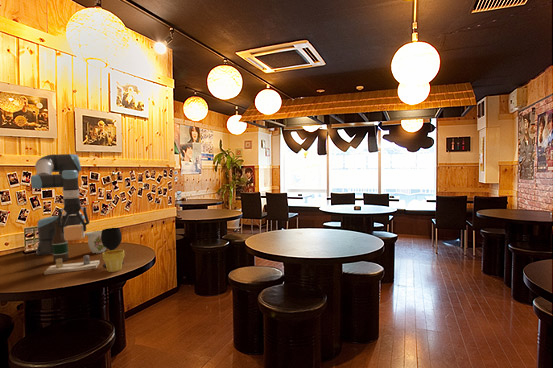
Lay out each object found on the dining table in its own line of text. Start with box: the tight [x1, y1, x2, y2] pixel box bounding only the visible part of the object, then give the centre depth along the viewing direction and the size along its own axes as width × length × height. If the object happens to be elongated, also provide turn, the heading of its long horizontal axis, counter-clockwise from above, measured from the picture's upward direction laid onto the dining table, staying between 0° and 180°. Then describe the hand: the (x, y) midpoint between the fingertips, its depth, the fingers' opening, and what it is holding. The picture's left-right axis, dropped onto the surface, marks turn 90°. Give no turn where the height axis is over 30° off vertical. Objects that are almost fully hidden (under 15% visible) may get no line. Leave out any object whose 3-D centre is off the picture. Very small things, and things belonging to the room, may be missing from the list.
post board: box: [43, 254, 101, 276], centre depth 184 cm, size 12×24×6 cm, turn 109°
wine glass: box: [101, 227, 124, 268], centre depth 188 cm, size 10×10×20 cm
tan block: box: [64, 224, 83, 242], centre depth 190 cm, size 8×8×7 cm
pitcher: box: [84, 230, 107, 254], centre depth 219 cm, size 11×18×14 cm, turn 137°
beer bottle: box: [52, 221, 70, 263], centre depth 200 cm, size 8×8×24 cm
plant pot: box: [102, 249, 125, 273], centre depth 178 cm, size 10×10×10 cm
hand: (74, 238), depth 190 cm, fingers closed on tan block, 8 cm apart
